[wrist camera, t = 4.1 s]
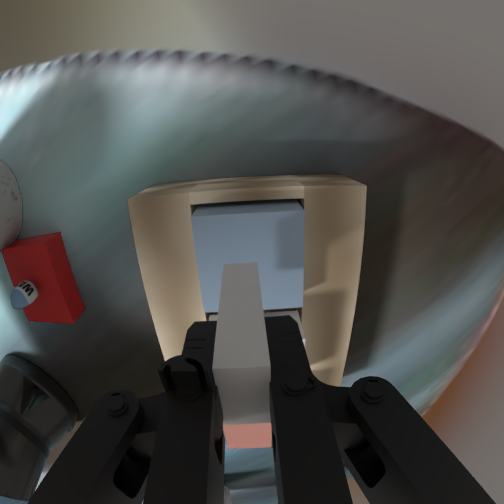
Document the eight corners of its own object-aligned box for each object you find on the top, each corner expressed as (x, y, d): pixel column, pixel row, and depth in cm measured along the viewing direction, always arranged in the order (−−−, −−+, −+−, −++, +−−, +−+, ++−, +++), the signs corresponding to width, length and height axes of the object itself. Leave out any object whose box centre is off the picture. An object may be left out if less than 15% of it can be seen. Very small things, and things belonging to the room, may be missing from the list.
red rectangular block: (17, 239, 22) (-22, 265, 16) (61, 231, 22) (20, 259, 16) (41, 307, 25) (11, 340, 19) (86, 307, 25) (57, 346, 19)
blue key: (209, 287, 19) (204, 312, 17) (199, 203, 17) (190, 216, 14) (294, 283, 19) (302, 307, 17) (295, 198, 17) (304, 210, 14)
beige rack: (195, 391, 28) (189, 427, 24) (152, 185, 20) (127, 199, 16) (322, 384, 28) (331, 419, 24) (340, 174, 20) (366, 185, 16)
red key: (229, 422, 23) (228, 448, 21) (222, 385, 21) (219, 414, 18) (291, 419, 23) (294, 444, 21) (293, 381, 21) (299, 409, 18)
